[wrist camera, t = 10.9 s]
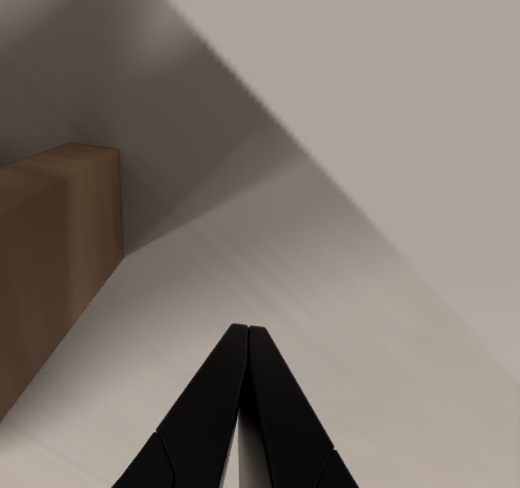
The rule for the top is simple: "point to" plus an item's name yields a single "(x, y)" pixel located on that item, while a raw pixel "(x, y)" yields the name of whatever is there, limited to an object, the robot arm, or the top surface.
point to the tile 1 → (53, 252)
